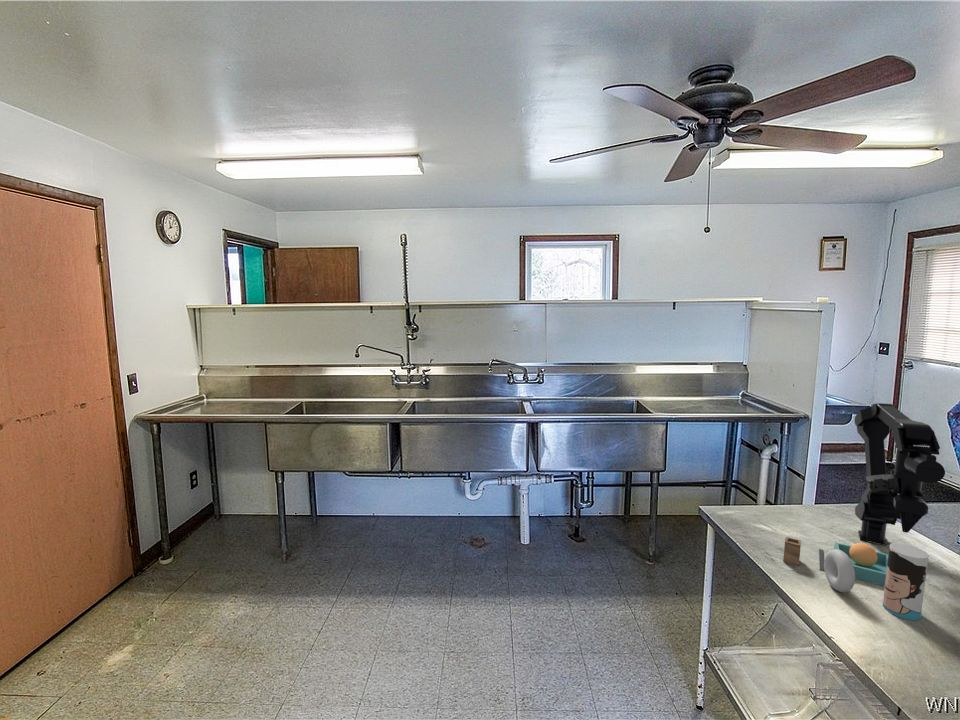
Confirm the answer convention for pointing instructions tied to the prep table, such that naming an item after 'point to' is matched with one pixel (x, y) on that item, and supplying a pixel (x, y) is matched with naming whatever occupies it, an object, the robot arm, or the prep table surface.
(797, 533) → the prep table surface
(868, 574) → the tray
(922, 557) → the cup
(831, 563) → the donut
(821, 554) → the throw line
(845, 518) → the prep table surface
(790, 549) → the tee
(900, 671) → the prep table surface
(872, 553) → the ball
